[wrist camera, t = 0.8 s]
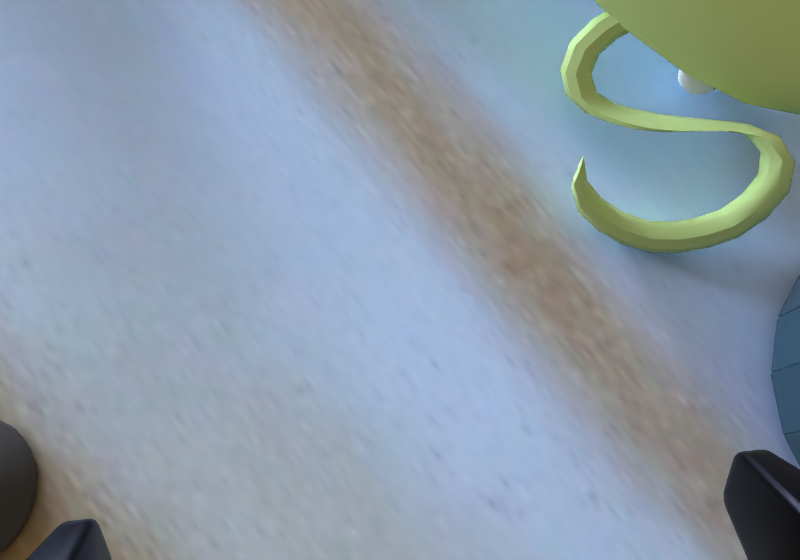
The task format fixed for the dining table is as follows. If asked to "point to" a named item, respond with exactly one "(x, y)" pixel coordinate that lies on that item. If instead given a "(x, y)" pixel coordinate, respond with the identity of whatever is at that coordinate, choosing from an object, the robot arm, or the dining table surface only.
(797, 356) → the bowl
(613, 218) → the figurine
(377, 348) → the dining table surface
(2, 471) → the sundae
